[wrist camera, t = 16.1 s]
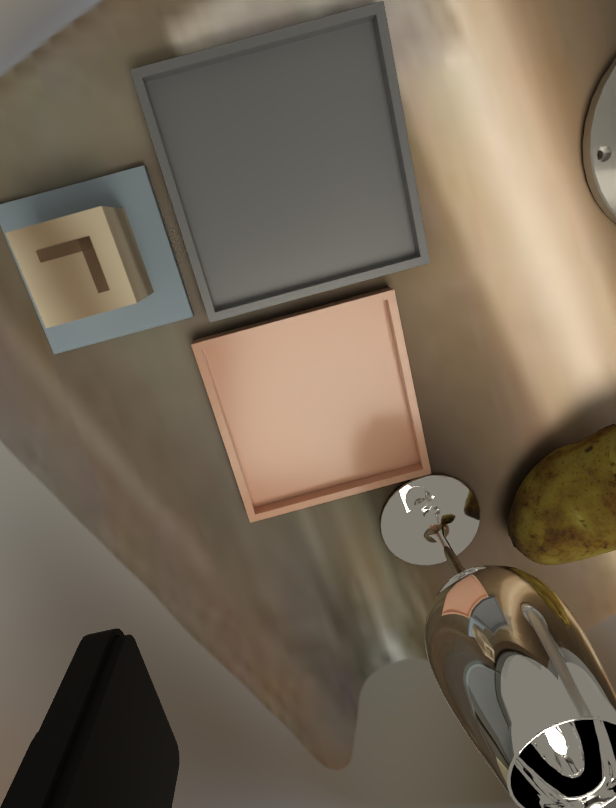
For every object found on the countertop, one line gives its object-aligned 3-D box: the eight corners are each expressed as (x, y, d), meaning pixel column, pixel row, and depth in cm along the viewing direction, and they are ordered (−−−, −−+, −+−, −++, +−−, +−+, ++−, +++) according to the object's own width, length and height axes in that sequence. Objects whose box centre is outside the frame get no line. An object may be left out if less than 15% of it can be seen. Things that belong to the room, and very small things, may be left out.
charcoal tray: (377, 11, 31) (383, 0, 29) (423, 261, 35) (430, 262, 34) (135, 77, 31) (129, 69, 29) (211, 318, 35) (209, 322, 34)
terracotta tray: (388, 286, 36) (394, 289, 34) (425, 464, 40) (431, 473, 38) (193, 339, 36) (191, 344, 34) (250, 511, 40) (250, 522, 38)
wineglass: (428, 582, 43) (560, 865, 24) (356, 525, 41) (439, 786, 22) (501, 513, 42) (704, 755, 23) (431, 451, 39) (589, 659, 21)
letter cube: (124, 207, 32) (100, 204, 28) (154, 292, 34) (136, 303, 29) (42, 230, 32) (3, 231, 28) (75, 314, 34) (45, 328, 29)
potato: (471, 462, 40) (520, 517, 32) (637, 383, 39) (728, 421, 32) (508, 549, 43) (562, 619, 35) (665, 477, 42) (755, 533, 34)
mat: (145, 166, 32) (143, 165, 32) (194, 315, 35) (193, 316, 35) (-3, 206, 32) (-8, 206, 32) (57, 352, 35) (54, 354, 35)
